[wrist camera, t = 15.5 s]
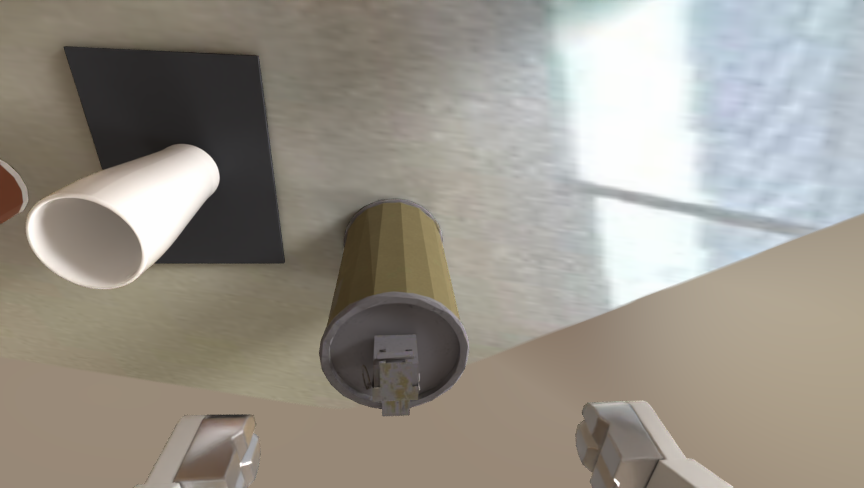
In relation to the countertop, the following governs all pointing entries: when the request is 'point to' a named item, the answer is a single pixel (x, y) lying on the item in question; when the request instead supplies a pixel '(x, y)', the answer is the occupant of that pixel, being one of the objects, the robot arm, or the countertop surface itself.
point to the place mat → (190, 138)
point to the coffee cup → (11, 192)
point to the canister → (393, 312)
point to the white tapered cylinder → (121, 216)
